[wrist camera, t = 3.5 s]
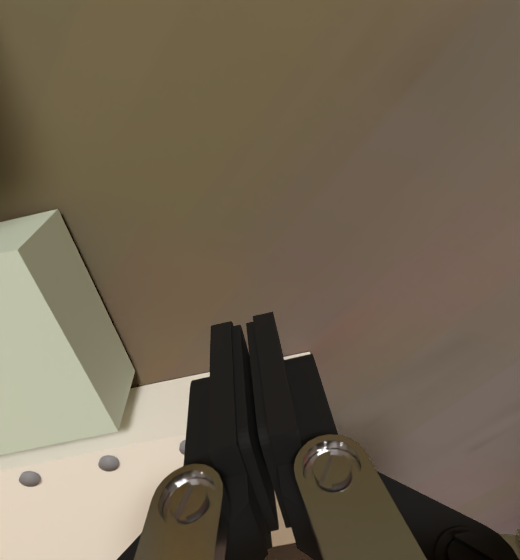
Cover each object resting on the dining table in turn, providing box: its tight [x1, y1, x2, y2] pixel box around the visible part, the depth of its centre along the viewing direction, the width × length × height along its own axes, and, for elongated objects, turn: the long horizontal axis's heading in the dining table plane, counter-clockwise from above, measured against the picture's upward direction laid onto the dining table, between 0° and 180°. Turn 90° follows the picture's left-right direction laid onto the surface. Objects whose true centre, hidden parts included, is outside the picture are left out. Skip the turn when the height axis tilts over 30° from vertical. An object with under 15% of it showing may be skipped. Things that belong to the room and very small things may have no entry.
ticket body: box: [0, 352, 310, 560], centre depth 18 cm, size 22×8×3 cm, turn 102°
